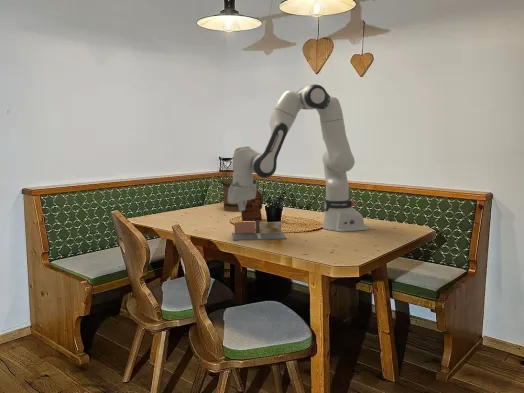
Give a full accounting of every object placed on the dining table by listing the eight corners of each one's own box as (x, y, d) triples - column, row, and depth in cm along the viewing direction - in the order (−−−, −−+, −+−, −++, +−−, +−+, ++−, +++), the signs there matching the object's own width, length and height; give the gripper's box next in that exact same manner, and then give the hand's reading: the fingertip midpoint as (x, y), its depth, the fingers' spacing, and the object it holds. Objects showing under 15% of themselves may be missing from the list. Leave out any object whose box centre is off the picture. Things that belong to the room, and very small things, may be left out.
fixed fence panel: (280, 232, 225) (280, 219, 224) (281, 232, 224) (281, 220, 223) (255, 232, 224) (255, 220, 223) (256, 233, 222) (255, 221, 221)
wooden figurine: (248, 223, 248) (248, 188, 245) (240, 221, 252) (239, 187, 249) (264, 219, 256) (264, 186, 253) (256, 218, 260) (256, 185, 257)
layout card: (282, 232, 227) (282, 231, 227) (286, 239, 214) (286, 237, 214) (231, 233, 224) (231, 232, 224) (233, 240, 211) (233, 239, 211)
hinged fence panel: (254, 232, 224) (254, 221, 223) (255, 232, 223) (255, 222, 222) (234, 232, 223) (234, 222, 222) (234, 233, 222) (234, 222, 221)
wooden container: (244, 212, 278) (244, 174, 274) (220, 211, 281) (219, 174, 278) (251, 207, 292) (251, 172, 289) (228, 206, 295) (227, 171, 292)
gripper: (236, 184, 213) (235, 214, 215) (258, 179, 231) (258, 208, 233) (224, 183, 216) (224, 213, 218) (247, 179, 234) (247, 206, 236)
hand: (242, 210), depth 226 cm, fingers closed
